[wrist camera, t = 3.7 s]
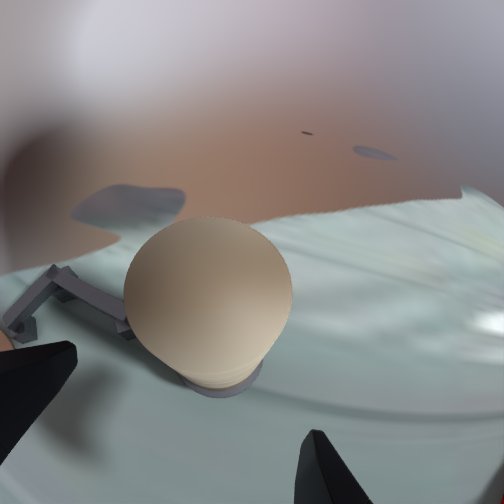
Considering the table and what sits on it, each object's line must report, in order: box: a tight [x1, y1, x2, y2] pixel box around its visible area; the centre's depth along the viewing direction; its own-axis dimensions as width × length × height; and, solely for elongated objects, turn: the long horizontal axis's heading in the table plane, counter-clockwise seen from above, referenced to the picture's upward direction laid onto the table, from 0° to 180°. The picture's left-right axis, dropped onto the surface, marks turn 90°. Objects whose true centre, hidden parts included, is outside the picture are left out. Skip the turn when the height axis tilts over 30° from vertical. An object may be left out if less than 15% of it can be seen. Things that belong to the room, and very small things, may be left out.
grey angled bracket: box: [3, 264, 136, 344], centre depth 17 cm, size 7×13×3 cm, turn 114°
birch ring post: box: [124, 217, 292, 398], centre depth 13 cm, size 6×6×13 cm
